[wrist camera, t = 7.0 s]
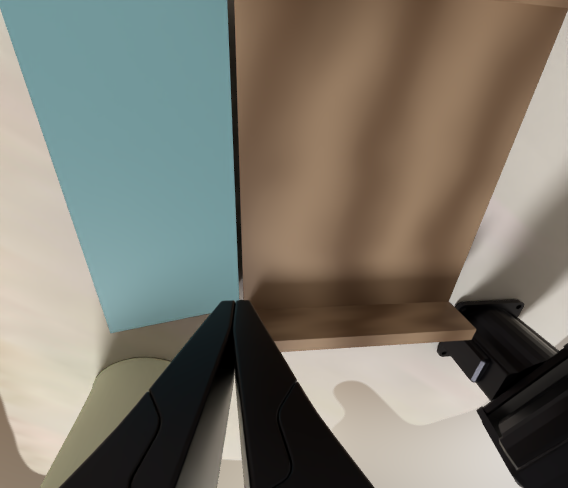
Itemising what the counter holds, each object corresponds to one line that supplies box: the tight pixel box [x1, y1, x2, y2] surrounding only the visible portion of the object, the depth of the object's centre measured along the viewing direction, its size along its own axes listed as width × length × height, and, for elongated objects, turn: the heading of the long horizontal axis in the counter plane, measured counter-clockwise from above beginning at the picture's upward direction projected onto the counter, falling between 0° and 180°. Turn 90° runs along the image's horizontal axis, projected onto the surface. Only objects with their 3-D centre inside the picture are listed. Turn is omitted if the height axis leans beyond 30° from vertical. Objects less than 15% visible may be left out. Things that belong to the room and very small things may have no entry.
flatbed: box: [234, 0, 568, 352], centre depth 16 cm, size 16×20×5 cm
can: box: [40, 358, 171, 488], centre depth 20 cm, size 9×9×12 cm
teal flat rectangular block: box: [0, 0, 239, 333], centre depth 15 cm, size 2×17×8 cm
